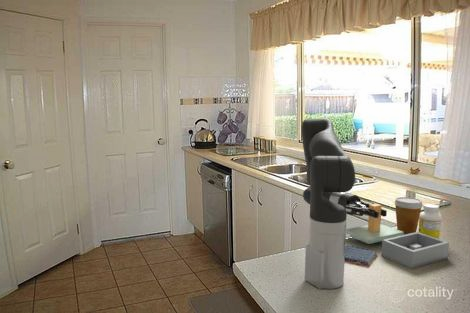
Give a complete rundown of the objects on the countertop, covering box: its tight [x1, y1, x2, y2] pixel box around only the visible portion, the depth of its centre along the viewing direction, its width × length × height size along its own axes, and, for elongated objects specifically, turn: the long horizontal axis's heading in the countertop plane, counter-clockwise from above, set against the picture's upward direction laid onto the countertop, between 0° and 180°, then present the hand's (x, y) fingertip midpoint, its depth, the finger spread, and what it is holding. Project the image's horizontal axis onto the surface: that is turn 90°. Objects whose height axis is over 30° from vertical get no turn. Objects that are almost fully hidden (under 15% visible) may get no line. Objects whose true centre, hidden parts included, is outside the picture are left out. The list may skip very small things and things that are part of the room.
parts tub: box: [380, 231, 450, 270], centre depth 119 cm, size 16×11×5 cm
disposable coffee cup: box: [393, 196, 424, 235], centre depth 141 cm, size 10×10×12 cm
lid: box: [346, 203, 405, 245], centre depth 132 cm, size 16×11×11 cm
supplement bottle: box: [417, 203, 443, 240], centre depth 130 cm, size 7×7×13 cm
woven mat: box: [344, 244, 378, 268], centre depth 119 cm, size 10×11×2 cm
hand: (381, 214), depth 129 cm, fingers closed on lid, 3 cm apart
